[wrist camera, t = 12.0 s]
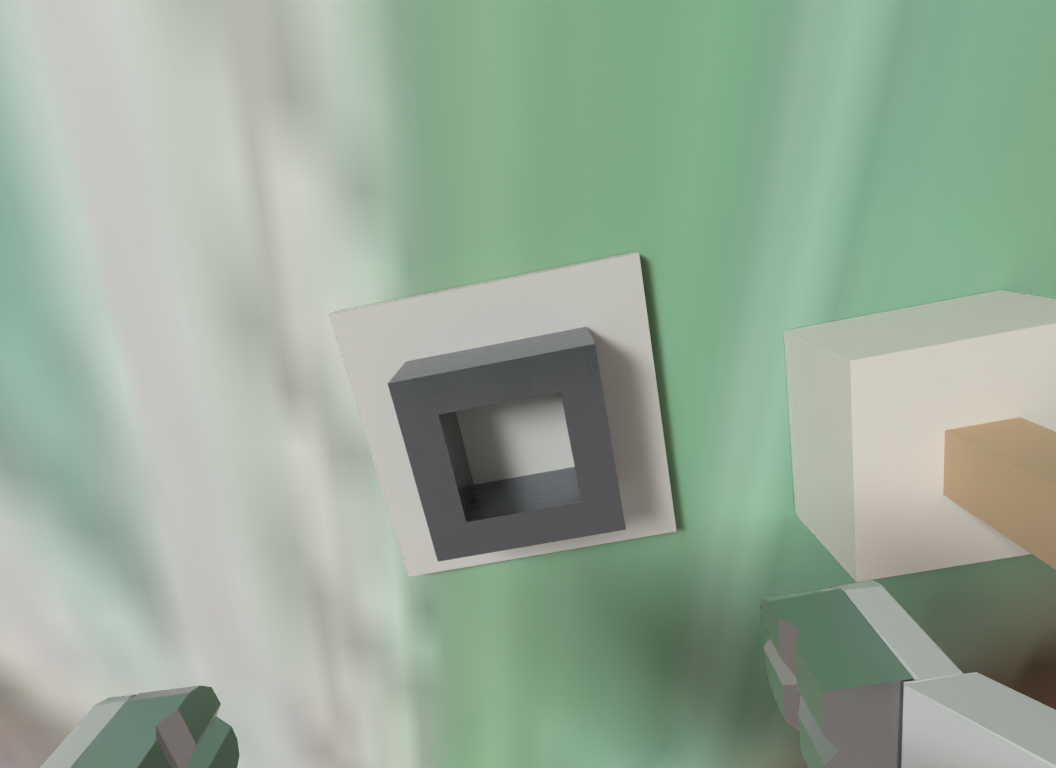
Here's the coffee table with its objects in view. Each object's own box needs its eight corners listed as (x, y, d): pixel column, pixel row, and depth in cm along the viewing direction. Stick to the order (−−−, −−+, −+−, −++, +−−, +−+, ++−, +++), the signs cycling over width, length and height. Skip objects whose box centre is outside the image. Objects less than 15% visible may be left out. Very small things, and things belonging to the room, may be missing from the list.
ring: (405, 361, 18) (387, 383, 16) (586, 326, 18) (595, 343, 16) (448, 520, 20) (437, 561, 18) (614, 491, 20) (626, 529, 17)
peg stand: (783, 330, 19) (963, 412, 11) (1000, 290, 18) (1343, 344, 10) (795, 513, 21) (953, 691, 13) (990, 480, 20) (1274, 643, 12)
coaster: (335, 311, 18) (329, 314, 18) (635, 251, 18) (639, 253, 17) (411, 566, 21) (408, 576, 21) (672, 522, 21) (676, 531, 20)
